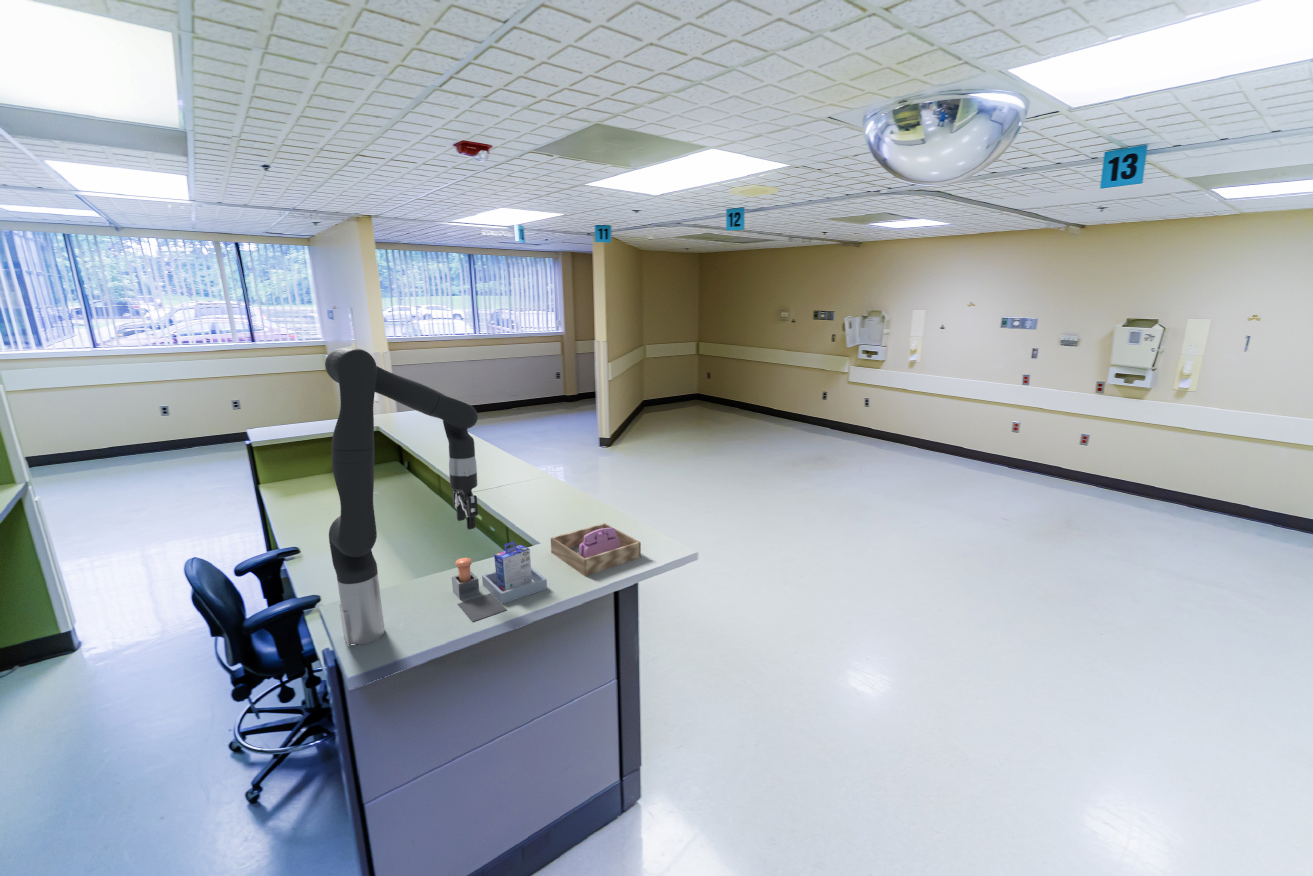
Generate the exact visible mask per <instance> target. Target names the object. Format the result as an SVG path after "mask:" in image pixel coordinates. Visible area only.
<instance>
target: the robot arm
mask: <svg viewBox="0 0 1313 876" xmlns="http://www.w3.org/2000/svg"><path fill="white" fill-rule="evenodd" d="M324 367H325V370H326V373H327V374H328V377H330V378H331V379H332V380H333V381H335V382H336V383H338V387H339V397H340V407H339V413H338V418H337V420H336V424H335V427H334V430H333V434H332V439H331V465H332V466H331V467H332V469H331V470H332V472H333V473H332V475H333V477H334V483H335V485H336V489H337V492H338V497H339V501H340V516H337V518H335V519H334V521H332V523H331V525H330V527H329V531H328V543H329V547H330V549H329V550H330V553H331V554H330V555H331V560H332V566H333V568H334V571H335V574H336V580H337V588H338V595H339V601H340V603H339V612H340V619H341V626H342V633H343V637H345V638H344V640H346V641H345V642H347V643H346V645H347V644H348V645H351V644H364V645H368V644H370V643H373V642H375V641H377V640H379V639H380V638H382V636H383V635H384V634H385V622H384V615H383V605H382V597H381V587H380V581H379V580H380V579H379V571H378V563H377V562H376V561H377V560H376V559H375V557H374V554H373V551H372V549H373V548H374V546H375V544H376V542H377V541H376V540H377V537H378V534H377V532H378V531H377V523H376V516H375V507H374V489H375V488H374V486H375V485H374V483H375V422H374V421H375V420H374V419H375V418H374V401H375V393H376V394H379V395H382V396H384V397H386V398H388V399H391V400H393V401H395V402H397V403H399V404H402V405H403V406H406V407H408V408H410V409H412V410H414V411H417V412H419V413H422V414H424V415H426V416H430V417H433V418H437V419H439V420H441V421H442V423H443V429H444V431H445V435H446V438H447V441H448V442H447V443H448V455H449V457H448V459H449V461H448V472H449V487H450V489H452V504H453V505H454V508H455V509H456V510H455V511H456V520H457V521H459V522H461V521H464V520H466V529H467V530H474V529H475V528H476V518H475V517H477V516H479V509H478V497H477V495H474V493H473V491H472V490H473V489H475V488H477V486H478V471H477V468H478V467H477V459H476V450H475V445H476V444H475V440H474V438H473V437H472V436H471V434H470V433H469V431H468V429H470V428H473V427H474V426H475V425H477V422H478V419H479V415H478V412H477V410H476V409H475V407H474V406H472V405H471V404H469V403H466V402H464V401H461V400H458V399H456V398H453V397H450V396H447V395H445V394H444V393H442V392H439V391H438V390H435V389H433V388H431V387H429V386H427V385H425V384H423V383H420V382H417V381H414V380H412V379H409V378H406V377H403V376H400V375H397V374H395V373H392V372H390V371H388V370H386V369H384V368H382V367H379V366H378V365H377V362H376V360H375V358H374V357H373V355H372V354H371V353H369V352H368V351H366V350H364V349H362V348H361V349H360V348H357V347H356V348H354V347H340V348H336V349H333V350H332V351H331V352H330V353H329V354H328V355H327V356H326V357H325V362H324ZM348 645H347V646H348Z"/></svg>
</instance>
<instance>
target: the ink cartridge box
mask: <svg viewBox="0 0 1313 876" xmlns="http://www.w3.org/2000/svg"><path fill="white" fill-rule="evenodd" d="M503 546H504V547H503V548H504V550H503V551H500V552H498V553H495V554H494V555H493V557H494V558H493V559H494V565H495V566H494V567H495V572H496V579H497V582H496V586H497V587H498V588H499V589H500V590H501V591H502V592H504V591H507V590H510V589H513V588H516V587H519V586H523V585H526V584H529V583H532V582H533V580H532V575H531V567H532V563H531V561H532V559H531V549H530V548H529V547H526V546H524V545H522V544H519V545H516V543H515V541H511V542H507V543H504V544H503ZM509 546H512V547H509ZM507 547H508V548H507Z"/></svg>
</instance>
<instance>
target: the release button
mask: <svg viewBox="0 0 1313 876" xmlns="http://www.w3.org/2000/svg"><path fill="white" fill-rule="evenodd" d="M472 563H473V560H472V558H470V557H462V558H458V559H457V560H455V566H456V567H457V569H458V570H457V572H458V575H459V582H460V583H461V582H464V581H468V580H471V573H470V572H471V565H472Z"/></svg>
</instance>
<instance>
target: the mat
mask: <svg viewBox="0 0 1313 876" xmlns="http://www.w3.org/2000/svg"><path fill="white" fill-rule="evenodd" d="M457 606H458V607H459V608H460V609H461V610H462V612H463V613H464V614H465V615H466V616H467V617H468V618H469V620H470V621H471V623H473V622H475V623H476V622H478V621H480V620H483V619H487V618H488V617H492V616H494V615H497V614H501V613H504V612H506V611H508V609H507V608H506V606H504V604H501V603H500V602H499V601H498V600H497V599H496V598H495V597H494V596H493V595H492V594H491V593H490V592H489V593H488V594H483V595H480V596H477V597H475V598H472V599H468V600H465V601H462V602H458V603H457Z"/></svg>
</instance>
